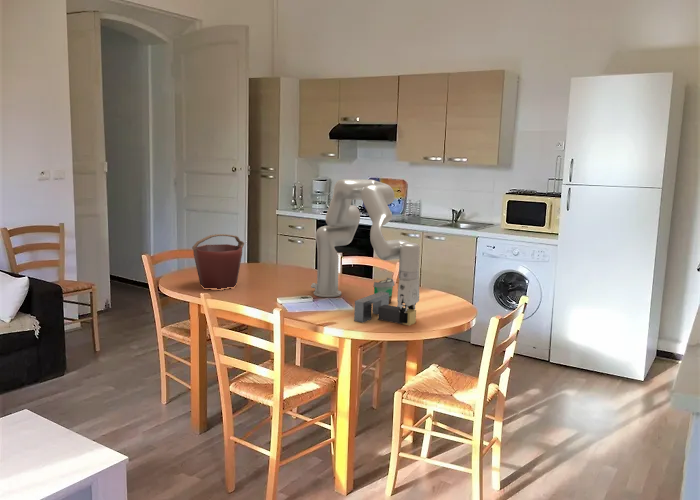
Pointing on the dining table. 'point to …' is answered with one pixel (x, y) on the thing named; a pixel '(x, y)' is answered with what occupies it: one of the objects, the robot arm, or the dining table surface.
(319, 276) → the robot arm
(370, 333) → the dining table surface
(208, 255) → the bucket
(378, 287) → the food container
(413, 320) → the rod
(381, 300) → the housing
